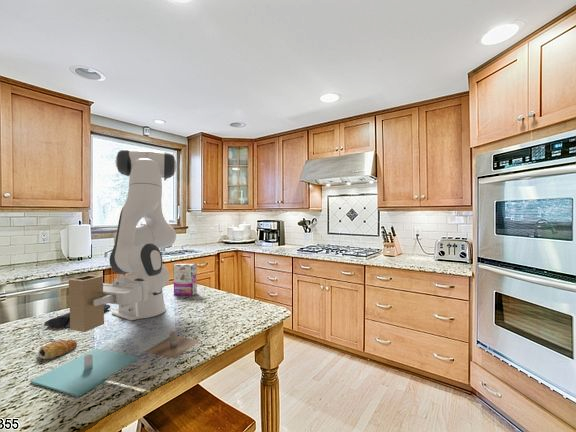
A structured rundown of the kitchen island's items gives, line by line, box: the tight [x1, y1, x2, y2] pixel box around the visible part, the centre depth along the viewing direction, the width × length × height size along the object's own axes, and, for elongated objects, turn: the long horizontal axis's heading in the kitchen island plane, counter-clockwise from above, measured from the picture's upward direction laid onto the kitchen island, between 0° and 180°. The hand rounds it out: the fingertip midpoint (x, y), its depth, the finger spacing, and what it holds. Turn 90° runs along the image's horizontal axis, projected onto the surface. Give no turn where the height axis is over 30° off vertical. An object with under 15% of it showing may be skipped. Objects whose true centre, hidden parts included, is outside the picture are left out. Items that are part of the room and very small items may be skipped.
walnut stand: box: [144, 330, 200, 359], centre depth 91 cm, size 12×12×6 cm
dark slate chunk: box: [43, 304, 111, 329], centre depth 118 cm, size 15×22×5 cm
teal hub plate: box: [29, 347, 140, 398], centre depth 78 cm, size 18×18×5 cm
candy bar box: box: [172, 263, 198, 297], centre depth 148 cm, size 11×5×16 cm, turn 80°
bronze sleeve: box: [68, 274, 105, 333], centre depth 78 cm, size 6×6×14 cm
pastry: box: [37, 339, 77, 360], centre depth 88 cm, size 9×7×4 cm
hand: (83, 301), depth 77 cm, fingers closed on bronze sleeve, 6 cm apart
